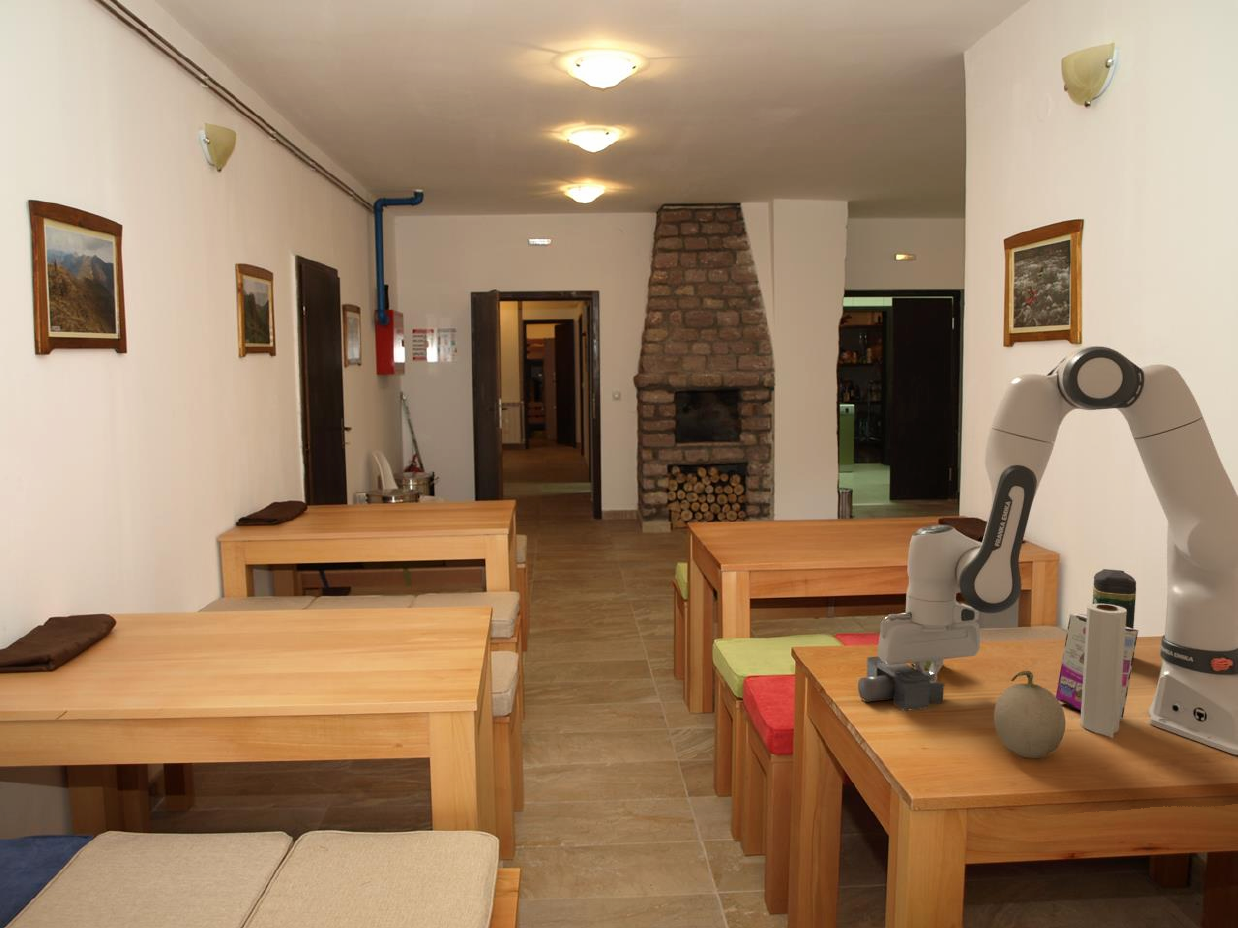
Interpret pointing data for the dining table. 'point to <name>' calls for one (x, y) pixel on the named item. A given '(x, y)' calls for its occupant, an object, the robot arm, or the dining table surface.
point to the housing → (907, 684)
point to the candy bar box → (1074, 663)
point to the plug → (876, 688)
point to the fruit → (1029, 719)
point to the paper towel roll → (1103, 668)
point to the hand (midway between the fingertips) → (927, 681)
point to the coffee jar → (1116, 591)
